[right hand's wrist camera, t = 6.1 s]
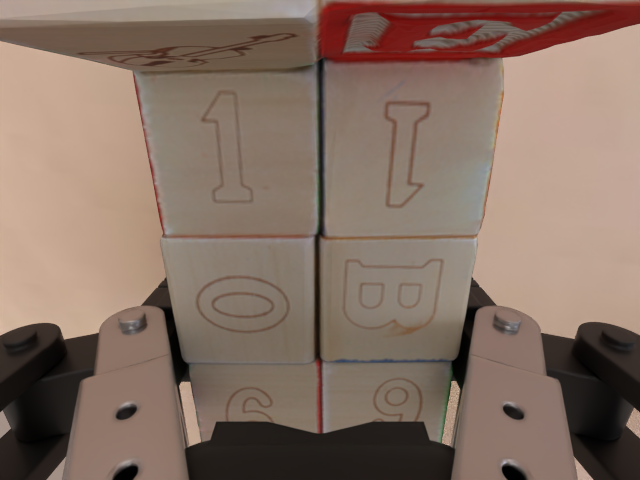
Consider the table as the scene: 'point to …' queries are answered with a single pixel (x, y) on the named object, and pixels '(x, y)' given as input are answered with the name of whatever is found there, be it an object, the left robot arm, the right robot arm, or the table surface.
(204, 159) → the stack of blocks
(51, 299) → the table surface
